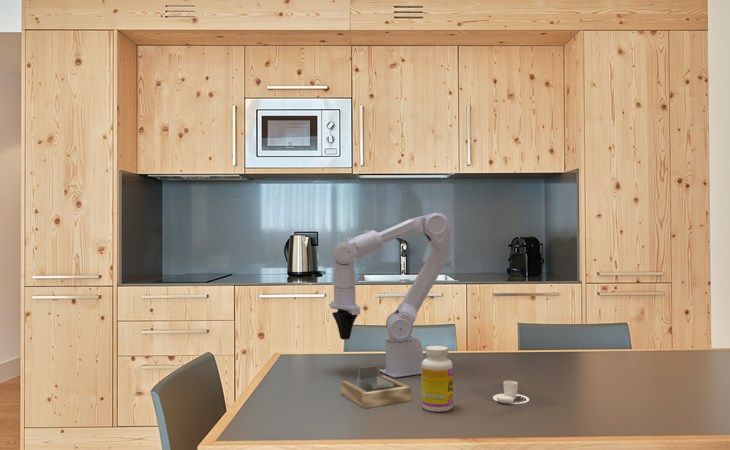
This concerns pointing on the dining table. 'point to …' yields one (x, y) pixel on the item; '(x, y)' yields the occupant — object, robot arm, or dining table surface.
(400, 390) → the dock bay
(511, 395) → the teacup and saucer
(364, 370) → the grey stepped block
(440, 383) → the supplement bottle
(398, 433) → the dining table surface
